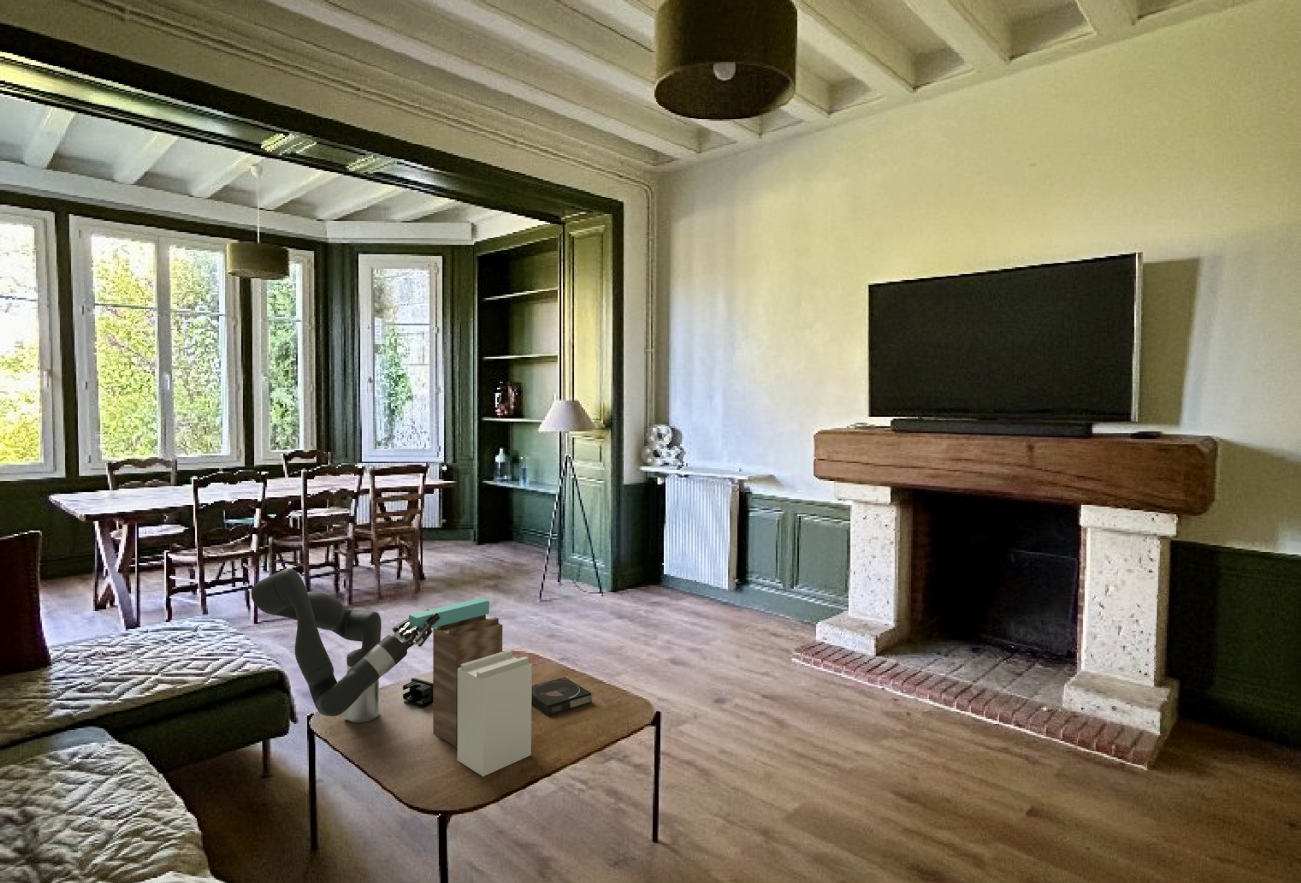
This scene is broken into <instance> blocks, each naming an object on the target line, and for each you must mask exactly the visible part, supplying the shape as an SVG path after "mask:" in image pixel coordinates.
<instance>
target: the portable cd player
mask: <svg viewBox="0 0 1301 883" xmlns="http://www.w3.org/2000/svg"><path fill="white" fill-rule="evenodd" d="M592 698H593V697H592V692H591V691H590V690H587V689H585V688H584V687H582V686H580V685H579V684H577V683H575V682H574V681H572V680H570V679H569V678H567V677H566V676H564V677H560V678H556V679H552V680H549V681H546V682H545V681H544V682H542V683H537V684H534V685H533V684H532V699H531V707H534V708H535V709H537V710H538V711H539V712H541V713H542V714H544V715H545V716H546V717H552V716H555V715H558V714H561V713H565V712H568V711H571V710H574V709H578V708H581V707H584V706H588V705H591V704H593V699H592Z"/></svg>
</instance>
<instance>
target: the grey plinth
mask: <svg viewBox="0 0 1301 883" xmlns="http://www.w3.org/2000/svg"><path fill="white" fill-rule="evenodd" d="M532 670H533V664H531V663H529V657H528V656H521V657H519V658H517V657H515V656H513V651H512V650H511V649H507V650H502V652H500V653H497V654H493V655H490V656H487V657H483V658H480V659H477V660H474V661H470V662H467V663H464V664H461V667H460V668H458V746H457V751H456V753H457V757H456V758H457V760H456V761H458V762H459V763H461V764H463V765H464V766H466V767H467V768H468V769H470V770H472V771H473V772H475V773H477V774H478V775H479V776H481V777H485V776H487V775H490V774H492V773H494V772H496V771H498V770H500V769H501V770H502V769H503V768H505V767H507V766H510V765H512V764H514V763H516V762H519V761H521V760H524V759H525V758H527V757H530V756H532V705H531V699H532V686H533V684H532V683H533V681H532V678H533V676H532V674H533V673H532V672H533V671H532Z"/></svg>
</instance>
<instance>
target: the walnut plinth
mask: <svg viewBox="0 0 1301 883" xmlns="http://www.w3.org/2000/svg"><path fill="white" fill-rule="evenodd" d="M499 620H500V619H499V618H498V617H496V616H495V617H491V618H487V614H486V615H482V616H478V617H474V618H470V619H466V620H462V621H458V622H454V623H450V624H446V625H443V626H439V627H435V628H432V631H433V632H432V636H433V638H432V639H433V640H432V641H433V642H432V644H433V645H432V647H433V648H432V652H433V653H432V655H433V656H432V660H433V661H432V663H433V664H432V666H433V667H432V671H433V672H432V677H433V678H432V683H433V704H432V712H433V713H432V723H433V725H432V729H433V730H432V732H433V734H434V735H435V736H437V737H439V738H440V739H442V740H444V741H445V742H447V743H449V744H450V745H452V746H454V748H458V668H460V667H461V664H464V663H467V662H470V661H474V660H477V659H480V658H483V657H487V656H490V655H493V654H497V653H500V652H503V629H504V627H503V624H502V623H499V622H500V621H499Z"/></svg>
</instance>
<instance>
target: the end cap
mask: <svg viewBox="0 0 1301 883" xmlns="http://www.w3.org/2000/svg"><path fill="white" fill-rule="evenodd" d="M407 689H409V690H408V691H406V692H403V693H402V699H403V703H404V704H405V703H406V704H405V705H410V706H413V707H415V708H419V709H422V710H423V709H427V707H430V706H433V682H430V681H426V680H423V679H420V678H416V677H412V678H411V679H410V682H408V683H405V684H403V685H402V691H405V690H407Z"/></svg>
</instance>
